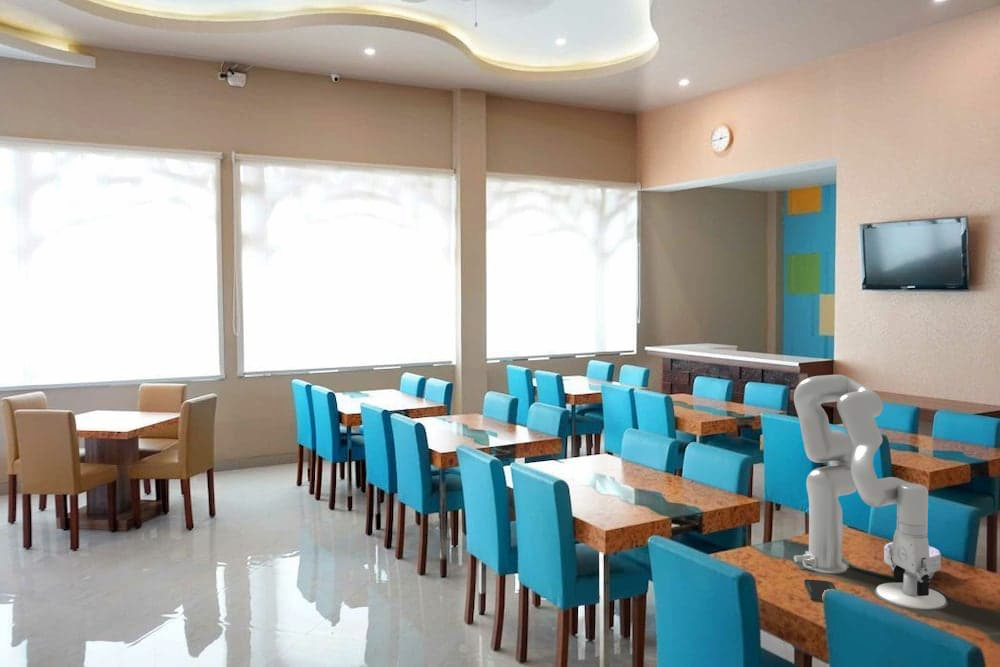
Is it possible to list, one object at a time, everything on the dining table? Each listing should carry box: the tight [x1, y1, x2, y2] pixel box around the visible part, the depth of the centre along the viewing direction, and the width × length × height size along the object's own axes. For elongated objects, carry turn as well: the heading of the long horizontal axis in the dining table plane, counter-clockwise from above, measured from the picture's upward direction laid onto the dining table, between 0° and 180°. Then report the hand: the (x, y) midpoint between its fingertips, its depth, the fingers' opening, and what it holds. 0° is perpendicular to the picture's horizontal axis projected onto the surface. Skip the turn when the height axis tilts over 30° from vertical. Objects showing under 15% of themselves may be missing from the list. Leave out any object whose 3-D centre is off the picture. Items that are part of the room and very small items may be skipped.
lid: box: [876, 572, 947, 610], centre depth 212 cm, size 17×17×6 cm
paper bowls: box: [883, 541, 942, 577], centre depth 231 cm, size 15×15×8 cm
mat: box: [874, 587, 948, 611], centre depth 212 cm, size 18×18×1 cm
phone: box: [804, 578, 836, 603], centre depth 217 cm, size 8×1×15 cm
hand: (910, 588), depth 212 cm, fingers open, 9 cm apart
